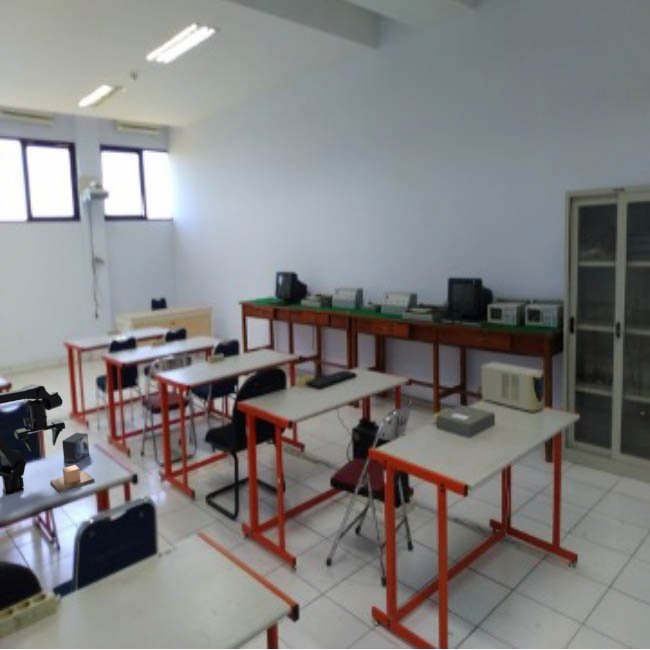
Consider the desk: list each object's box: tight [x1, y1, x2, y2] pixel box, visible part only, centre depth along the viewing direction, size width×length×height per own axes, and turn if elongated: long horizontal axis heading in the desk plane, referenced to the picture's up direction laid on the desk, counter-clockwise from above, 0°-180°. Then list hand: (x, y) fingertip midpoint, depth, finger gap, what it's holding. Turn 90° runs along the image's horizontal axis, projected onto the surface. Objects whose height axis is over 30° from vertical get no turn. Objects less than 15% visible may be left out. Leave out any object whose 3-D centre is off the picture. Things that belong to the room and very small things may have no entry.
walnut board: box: [49, 469, 95, 493], centre depth 234 cm, size 14×11×1 cm
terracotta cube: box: [62, 464, 81, 483], centre depth 234 cm, size 5×5×5 cm
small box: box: [61, 432, 90, 464], centre depth 257 cm, size 11×6×10 cm, turn 168°
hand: (42, 448), depth 240 cm, fingers open, 9 cm apart
